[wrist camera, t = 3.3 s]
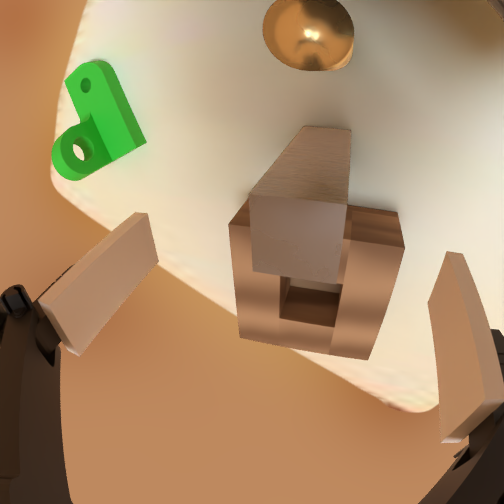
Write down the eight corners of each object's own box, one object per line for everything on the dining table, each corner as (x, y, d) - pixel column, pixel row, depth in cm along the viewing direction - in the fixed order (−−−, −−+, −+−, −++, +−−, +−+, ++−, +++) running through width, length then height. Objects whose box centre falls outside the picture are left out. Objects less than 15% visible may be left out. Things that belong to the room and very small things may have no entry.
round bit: (302, 25, 19) (260, -8, 10) (352, 27, 18) (351, -8, 9) (303, 69, 21) (264, 70, 12) (352, 72, 20) (354, 74, 11)
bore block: (251, 194, 30) (228, 224, 25) (397, 212, 26) (404, 248, 21) (256, 301, 37) (239, 337, 33) (370, 319, 34) (367, 360, 29)
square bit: (304, 125, 24) (248, 194, 13) (351, 130, 23) (347, 204, 11) (303, 169, 26) (252, 271, 15) (348, 174, 25) (336, 284, 14)
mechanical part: (147, 142, 30) (96, 168, 24) (113, 161, 32) (65, 189, 26) (107, 50, 25) (50, 59, 18) (76, 78, 27) (23, 92, 21)
